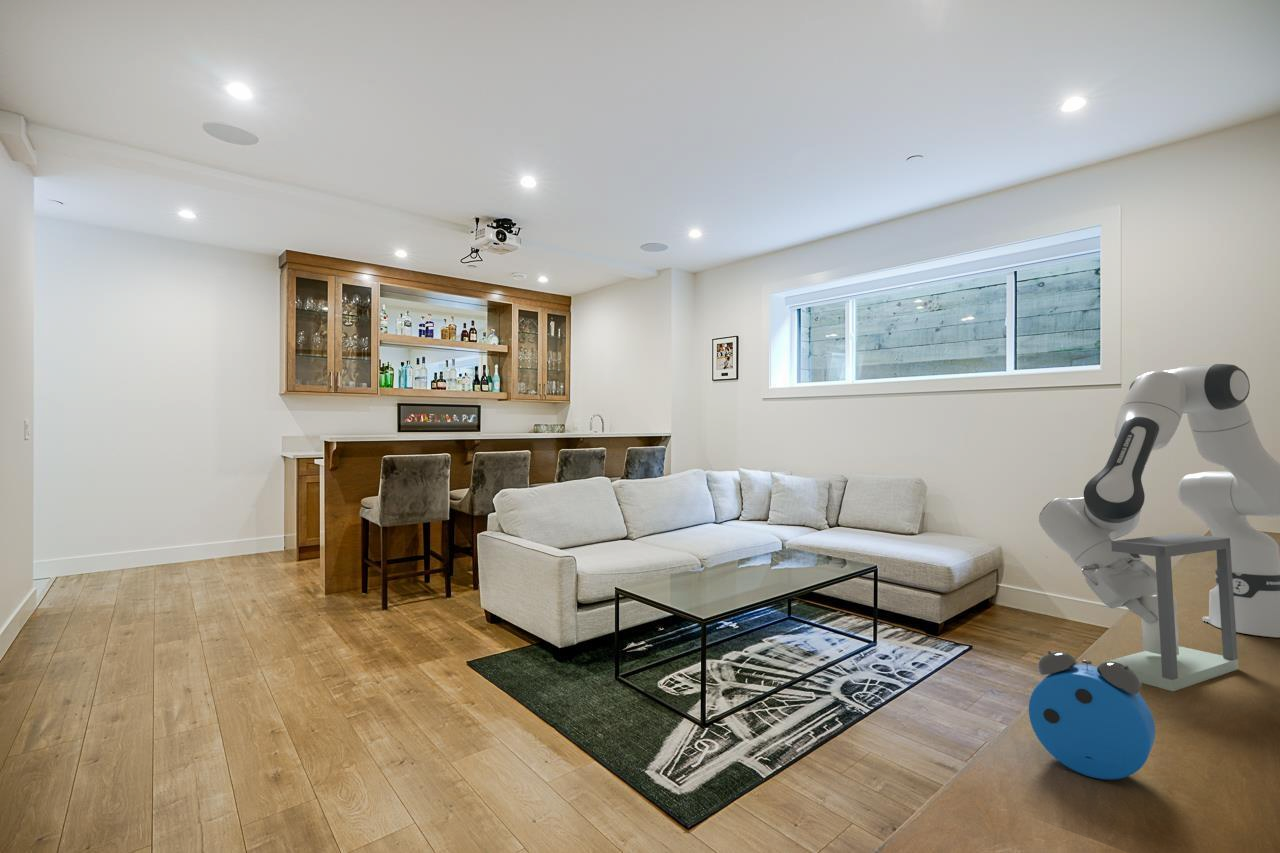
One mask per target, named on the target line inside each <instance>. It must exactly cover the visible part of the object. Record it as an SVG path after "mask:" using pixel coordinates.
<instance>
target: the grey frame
mask: <svg viewBox="0 0 1280 853" xmlns="http://www.w3.org/2000/svg"><path fill="white" fill-rule="evenodd" d="M1111 543H1112V551H1113V552H1122V553H1130V554H1139V555H1141V556H1150V557H1154V558H1155V572H1156V577H1157V594H1158V612H1159V629H1160V646H1161V654H1156V653H1152V652H1148V651H1146V650H1143V651H1140V652H1139V651H1138V652H1136V653H1132V654H1127V655H1125V656H1121V657H1116V658H1113V659H1110V660H1108V661H1112V662H1117V663H1120V664H1123V665H1125V666H1126V665H1127V666H1128V667H1129V668H1130V669H1131V670H1132V671H1133V672H1134V673H1135V674H1136V675H1137V676H1138V677H1139V679H1140V681H1141V684H1144V685H1148V686H1152V687H1156V688H1159V689H1163V690H1167V691H1169V692H1175V691H1178V690H1183V689H1184V688H1188V687H1190V686H1193V685H1196V684H1199V683H1203V682H1205V681H1207V680H1211V679H1214V678H1217V677H1221V676H1223V675H1225V674H1229V673H1230V672H1231V673H1232V672H1234V671H1237V670H1239V660H1238V658H1239V657H1238V656H1239V654H1238V644H1237V643H1238V642H1237V641H1238V640H1237V632H1236V624H1235V609H1234V594H1233V578H1232V563H1231V548H1230V538H1223V537H1213V536H1210V535H1207V536H1206V535H1197V534H1183V533H1172V534H1165V535H1164V534H1162V535H1154V536H1147V537H1145V536H1144V537H1136V538H1126V539H1119V540H1113V541H1111ZM1212 551H1215V554H1216V553H1217V556H1216V563H1217V564H1216V565H1217V566H1216V567H1217V568H1218V584H1219V599H1220V615H1221V628H1220V629H1221V631H1220V632H1221V644H1222V645H1221V646H1222V655H1221V654H1217V653H1213V652H1208V651H1205V650H1204V651H1203V650H1198V649H1194V648H1190V647H1185V646H1180V645H1179V655H1177V653H1176V637H1175V620H1174V603H1173V596H1174V590H1173V589H1174V588H1173V587H1174V586H1173V575H1172V574H1173V572H1172V571H1173V570H1172V557H1177V556H1178V557H1179V556H1186V555H1192V554H1198V553H1205V552H1212ZM1217 568H1216V569H1217Z"/></svg>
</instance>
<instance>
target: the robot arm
mask: <svg viewBox="0 0 1280 853" xmlns="http://www.w3.org/2000/svg"><path fill="white" fill-rule="evenodd" d="M1250 387H1251V386H1250V381H1249V377H1248V375H1247V373H1246V372H1245V371H1244V370H1243V369H1242V368H1240V367H1239V366H1237V365H1236V364H1228V363H1215V364H1212V365H1211V364H1210V365H1204V364H1203V365H1190V366H1189V365H1187V366H1181V367H1178V368H1177V367H1176V368H1171V369H1164V370H1153V371H1148V372H1146V373H1143V374H1140V375H1138V376H1136V377H1135V379H1134V380H1133V381H1132V382H1131V384H1130V386H1129V389H1128V392H1127V394H1126V395H1125V397H1124V398H1123V399H1124V400H1123V401H1122V404H1121V405H1120V408H1119V410H1118V413H1117V416H1116V421H1115V425H1114V426H1115V427H1114V437H1115V438H1116V441H1115V443H1114V445H1113V448H1112V451H1111V453H1110V455H1109V457H1108V460H1107V462H1106V464H1105V466H1104V467H1103V468H1102V469H1101V470H1100V471H1099V472H1098V473H1097V474H1095V475H1094V476H1093V477H1092V478H1091V479H1089V481H1088V482H1086V485H1085V486H1084V488H1083V496H1081V497H1075V498H1074V497H1072V498H1070V497H1069V498H1065V497H1056V498H1054V499H1052V500H1051V501H1049V502H1048V503H1047V504H1046V505H1045V506H1044V507H1043V508H1042V510H1041V511H1040V513H1039V516H1038V522H1039V525H1040V527H1041V528H1042V530H1043V531H1044V532H1045V534H1046V535H1047V536H1048V537H1049V539H1051V540H1052V541H1053V543H1054V544H1055V545H1056V546H1057V547H1058V548H1059V549H1061V550H1062V551H1063V552H1065V553H1067V554H1068V555H1069V556H1070V558H1071V560H1072V562H1073V563H1074V564H1075V565H1076V566H1077V567H1078V568H1079V569H1080V571H1082V572H1081V573H1082V575H1083V577H1085V579H1084V580H1085V582H1086V584H1087V586H1088V587H1089V588H1090V590H1091V591H1092V592H1093V593H1094V595H1095V596H1096V597H1097V598H1098V599H1099V600H1100V601H1101V603H1102V604H1104V605H1105V606H1107V607H1108V608H1110V609H1117V608H1122V607H1125V608H1127V610H1128V611H1131V613H1134V614H1135V615H1136V616H1138V617H1139V618H1142V619H1143V620H1144V621H1145V622H1146V623H1154V622H1155V621H1157V620H1158V617H1157V616H1156V615H1155V614H1154V613H1153V612H1152V611H1148V610H1147V609H1146V608H1145V607H1143V606H1142V605H1141V603H1140V598H1141V597H1142V595H1146V594H1151V593H1157V577H1156V570H1154V569H1153V568H1152V566H1150V565H1149V564H1148V563H1146V562H1144V561H1143V555H1139V554H1130V553H1122V552H1113V551H1112V543H1111V541H1114V540H1116V539H1118V538H1121V537H1123V536H1126V535H1128V534H1130V533H1132V532H1133V531H1134V530H1135V529H1136V527H1137V526H1138V523H1139V521H1140V516H1141V512H1142V511H1141V510H1142V508H1143V505H1144V503H1145V496H1146V495H1145V491H1144V486H1143V483H1142V476H1143V474H1144V471H1145V468H1146V465H1147V463H1148V460H1149V458H1150V456H1151V453H1152V452H1153V451H1157V450H1160V449H1163V448H1165V447H1167V445H1168V444H1169V443H1170V442H1171V441H1172V440H1171V439H1172V438H1173V437H1174V435H1175V433H1176V431H1177V429H1178V427H1179V425H1180V422H1181V419H1182V416H1183V414H1186V416H1187V420H1188V421H1187V422H1188V424H1189V427H1190V430H1191V433H1192V437H1193V439H1194V442H1195V446H1196V448H1197V451H1198V454H1199V455H1200V456H1201V458H1203V459H1204V460H1205V461H1208V462H1210V463H1212V464H1215V465H1217V466H1220V467H1222V468H1223V469H1226V471H1225V470H1224V471H1220V470H1219V471H1218V470H1212V471H1211V470H1209V471H1208V470H1207V471H1201V472H1194V473H1189V474H1186V475H1184V476H1183V477H1182V478H1181V479H1180V480H1179V483H1178V485H1177V489H1176V491H1177V492H1176V493H1177V497H1178V499H1179V501H1180V502H1181V504H1182V505H1183V506H1184V507H1185V508H1187V509H1188V510H1190V511H1192V512H1193V513H1194V514H1196V516H1198V517H1199V518H1200V519H1201V520H1202V521H1203V523H1205V525H1206V526H1207V528H1208V530H1209V532H1210V533H1211V535H1212V536H1211V537H1223V538H1230V548H1231V563H1232V578H1233V594H1234V609H1235V624H1236V633H1241V634H1245V635H1246V634H1247V635H1252V636H1261V637H1269V638H1280V546H1279V544H1278V543H1277V541H1276V540H1275V539H1274V538H1273V537H1272V536H1270V535H1269V534H1267V533H1265V532H1263V531H1260V530H1258V529H1256V528H1254V527H1253V526H1252V525H1251V523H1249V520H1248V519H1247V517H1248V516H1249V517H1250V516H1251V517H1265V518H1266V517H1267V518H1268V517H1269V518H1280V462H1279V461H1277V460H1276V459H1275V458H1274V457H1273V456H1272V455H1271V454H1270V453H1269V452H1268V451H1267V450H1266V448H1264V445H1263V444H1262V442H1261V440H1260V438H1259V435H1258V433H1257V430H1256V427H1255V425H1254V422H1253V419H1252V415H1251V413H1250V410H1249V408H1248V406H1247V403H1246V402H1245V401H1246V400H1247V399H1248V397H1249V394H1250V389H1251V388H1250ZM1215 555H1216V556H1215V557H1217V553H1216V552H1215ZM1214 571H1215V573H1214V578H1215V583H1216V584H1217V585H1216V586H1215V587H1214V588H1212V589H1210V590H1209V599H1208V600H1209V601H1208V602H1209V603H1208V604H1209V605H1208V615H1207V616H1206V615H1205V616H1203V617H1202V620H1203V622H1204V621H1205V623H1207V622H1208V624H1211V625H1212V626H1214V627H1216V628H1219V629H1221V615H1220V599H1219V584H1218V568H1216V569H1215V570H1214Z"/></svg>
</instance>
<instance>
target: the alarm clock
mask: <svg viewBox="0 0 1280 853" xmlns="http://www.w3.org/2000/svg"><path fill="white" fill-rule="evenodd" d="M1081 663H1082V664H1078V661H1077V660H1076V659H1075V658H1074V657H1073V656H1072V655H1071V654H1069V653H1067V652H1064V651H1052V652H1051V651H1050V650H1048V651H1047V653H1046V654H1044V655H1042V656H1041V657H1040V658H1039V660H1038V662H1037V670H1038V672H1039V673H1040V675H1042V676H1043V675H1046V676H1045V677H1044V678H1043V679H1042V680H1041V681H1040V682H1039V683H1038V684H1037V685H1036V686H1035V688H1034V689H1033V690H1032V692H1031V695H1030V697H1029V702H1028V717H1029V721H1030V725H1031V728H1032V729H1033V732H1034V734H1035V736H1036V737H1037V738H1036V739H1038V741H1039V742H1040V744H1041V745H1042V746H1043V747H1044V748H1045V750H1046V751H1047V752H1048V753H1049V754H1050V755H1052V757H1053V758H1054V759H1056V760H1057V761H1058V762H1059V763H1060V764H1063V765H1064V766H1065V767H1067V768H1068V769H1070V770H1073V771H1074V772H1076V773H1079V774H1081V775H1083V776H1087V777H1090V778H1094V779H1099V780H1119V779H1120V780H1121V779H1124V778H1127V777H1129V776H1130V777H1131V775H1134V774H1135V773H1137V772H1138V771H1140V769H1141V768H1142V767H1143V766H1144V765H1145V764H1146V763H1147V760H1148V758H1149V756H1150V753H1151V750H1152V747H1153V746H1154V743H1155V737H1156V723H1155V720H1154V716H1153V714H1152V712H1151V709H1150V707H1149V706H1148V704H1147V702H1146V701H1145V699H1144V698H1143V696H1141V694H1140V693H1142V692H1141V691H1142V686H1143V685H1142V684H1143V683H1141V681H1140V679H1139V677H1138V676H1137V675H1136V674H1135V673H1134V672H1133V671H1132V670H1131V669H1130V668H1129V667H1128V666H1127V665H1126V666H1125V665H1123V664H1120V663H1117V662H1112V661H1109V660H1106V661H1103V662H1101V663H1099V664H1098V665H1097V666H1093V665H1092V664H1093V663H1092V661H1091V660H1085V659H1082V661H1081Z"/></svg>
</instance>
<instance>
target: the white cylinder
mask: <svg viewBox="0 0 1280 853" xmlns="http://www.w3.org/2000/svg"><path fill="white" fill-rule="evenodd" d="M1140 603H1141V605H1142V606H1143V607H1145V608H1146V609H1147V610H1148V611H1152V612H1153V613H1154V614H1155V615H1156V616H1157V617H1158V620H1157V621H1155V622H1154V623H1146V622H1145V621H1144V620H1143V619H1142V618H1141V617H1140V618H1141V633H1142V634H1141V635H1142V649H1143V651H1148V652H1152V653H1156V654H1161V646H1160V629H1159V612H1158V594H1157V593H1151V594H1146V595H1142V597H1141V598H1140ZM1173 603H1174V620H1175V637H1176V653H1177V655H1179V646H1180V643H1179V627H1178V612H1177V609H1178V608H1177V597H1176V596H1174V595H1173Z"/></svg>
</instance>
